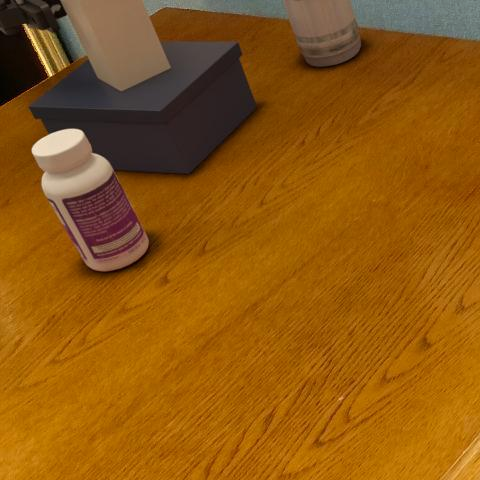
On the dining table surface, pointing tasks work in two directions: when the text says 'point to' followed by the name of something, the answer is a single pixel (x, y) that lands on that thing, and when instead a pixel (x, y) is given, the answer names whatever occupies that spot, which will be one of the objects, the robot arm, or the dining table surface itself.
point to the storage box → (156, 109)
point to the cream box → (117, 40)
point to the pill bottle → (89, 201)
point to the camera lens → (324, 30)
